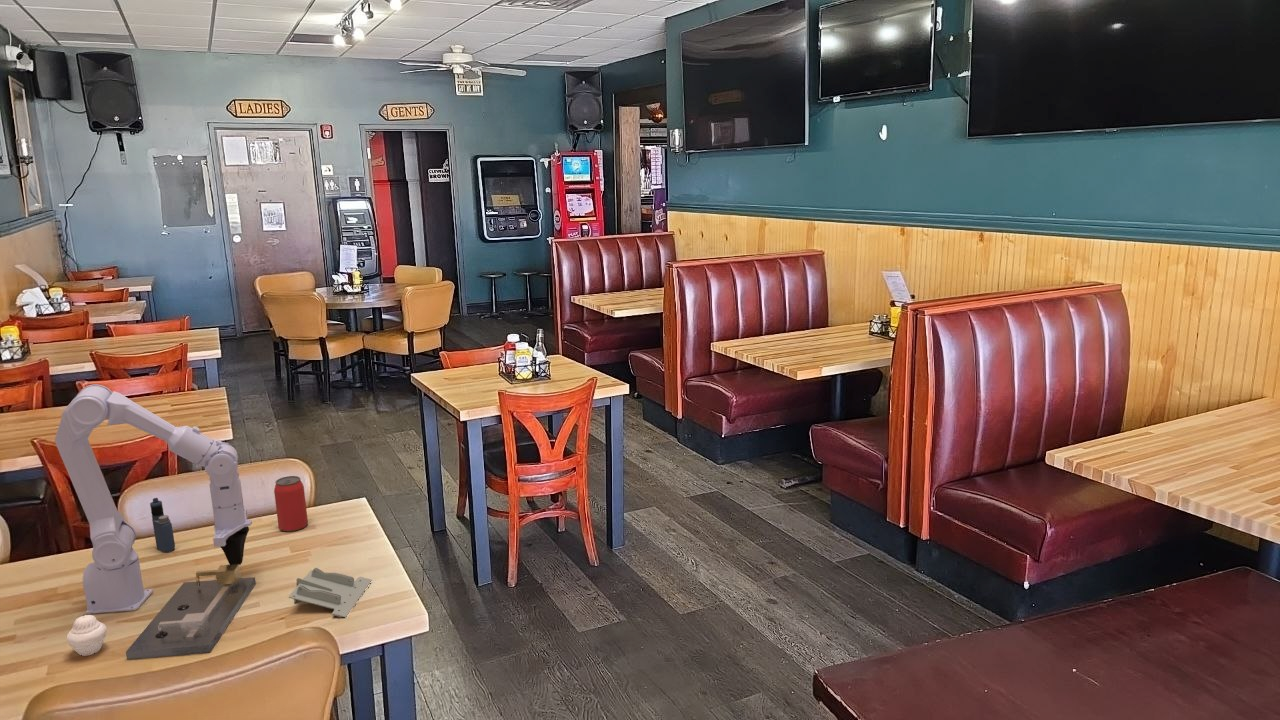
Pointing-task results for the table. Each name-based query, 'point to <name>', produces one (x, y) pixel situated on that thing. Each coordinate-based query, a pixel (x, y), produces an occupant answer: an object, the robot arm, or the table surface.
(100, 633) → the muffin
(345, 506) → the table surface
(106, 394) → the robot arm
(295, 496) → the beer can
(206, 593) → the plate
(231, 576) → the brass slider
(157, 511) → the vaping device
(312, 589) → the metal bracket
